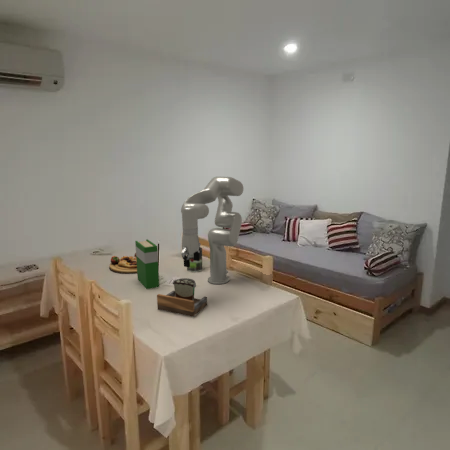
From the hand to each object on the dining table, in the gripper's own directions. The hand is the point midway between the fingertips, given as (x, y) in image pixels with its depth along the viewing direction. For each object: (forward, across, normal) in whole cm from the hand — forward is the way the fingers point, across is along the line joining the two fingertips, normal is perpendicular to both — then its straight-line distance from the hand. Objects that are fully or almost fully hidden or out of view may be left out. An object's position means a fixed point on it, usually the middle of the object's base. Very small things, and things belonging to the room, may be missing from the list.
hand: (191, 263), depth 184 cm
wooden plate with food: (+21, -31, -64) cm, 74 cm away
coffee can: (+21, -41, -23) cm, 52 cm away
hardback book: (+20, -9, -36) cm, 42 cm away
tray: (+19, +11, 0) cm, 22 cm away
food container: (+17, +6, 0) cm, 18 cm away
